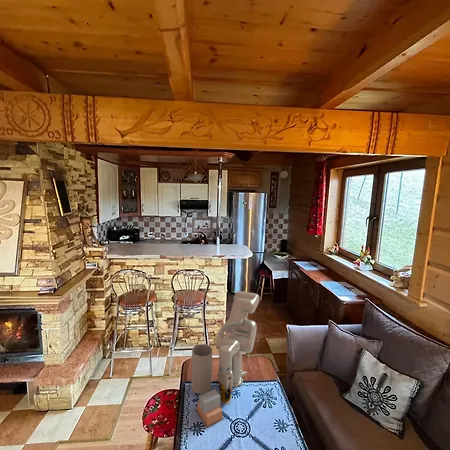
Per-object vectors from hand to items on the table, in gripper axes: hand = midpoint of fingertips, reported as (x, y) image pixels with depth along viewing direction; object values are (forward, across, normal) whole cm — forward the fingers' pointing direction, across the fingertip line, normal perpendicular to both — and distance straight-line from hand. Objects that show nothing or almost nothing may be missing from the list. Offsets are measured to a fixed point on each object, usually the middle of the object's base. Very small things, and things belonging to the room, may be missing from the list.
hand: (224, 393), depth 157 cm
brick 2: (+3, -5, +13) cm, 14 cm away
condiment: (+3, +1, 0) cm, 3 cm away
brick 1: (-2, -5, +13) cm, 14 cm away
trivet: (+4, -5, +13) cm, 14 cm away
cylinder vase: (+5, +16, +7) cm, 18 cm away
